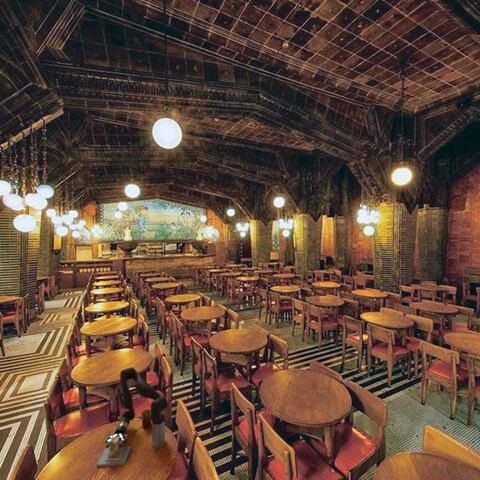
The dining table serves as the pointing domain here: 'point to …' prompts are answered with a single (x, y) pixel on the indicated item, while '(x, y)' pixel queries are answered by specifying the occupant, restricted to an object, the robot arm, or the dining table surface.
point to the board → (119, 460)
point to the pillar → (114, 447)
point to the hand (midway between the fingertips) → (113, 446)
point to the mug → (146, 418)
